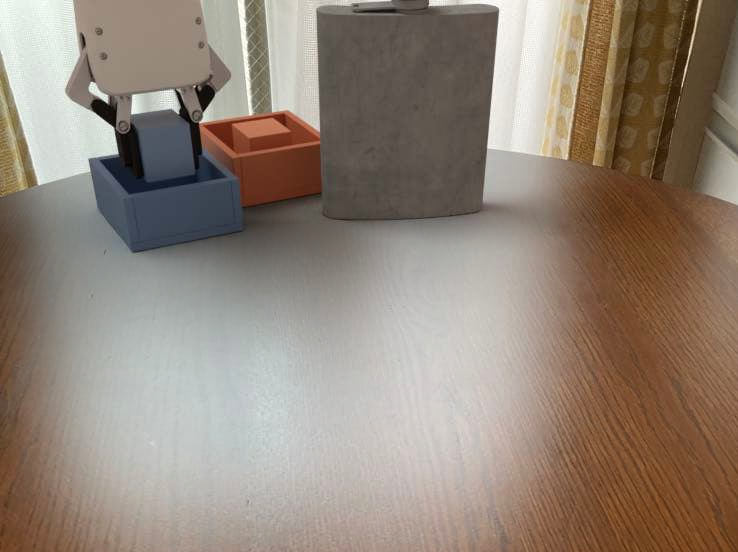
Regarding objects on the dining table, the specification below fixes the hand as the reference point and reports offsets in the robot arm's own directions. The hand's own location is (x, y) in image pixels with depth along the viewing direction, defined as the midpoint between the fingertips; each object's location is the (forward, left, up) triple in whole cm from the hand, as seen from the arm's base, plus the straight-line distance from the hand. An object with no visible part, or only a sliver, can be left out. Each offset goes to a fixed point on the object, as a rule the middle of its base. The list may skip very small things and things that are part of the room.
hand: (163, 166), depth 84 cm
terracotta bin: (+12, +5, -5) cm, 14 cm away
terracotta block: (+12, +5, -4) cm, 13 cm away
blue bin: (0, 0, -5) cm, 5 cm away
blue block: (0, 0, 0) cm, 0 cm away
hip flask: (+21, -8, -5) cm, 23 cm away
